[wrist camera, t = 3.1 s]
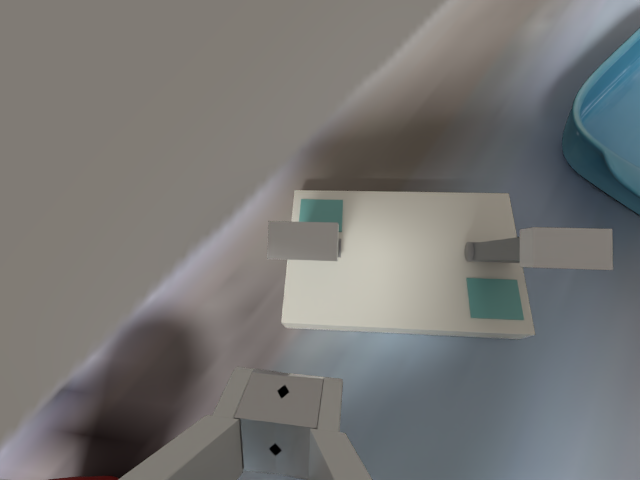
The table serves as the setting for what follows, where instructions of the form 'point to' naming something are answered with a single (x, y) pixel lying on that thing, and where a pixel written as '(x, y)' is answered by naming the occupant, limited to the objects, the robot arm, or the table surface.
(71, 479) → the plastic cup
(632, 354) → the table surface
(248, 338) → the table surface
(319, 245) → the lever
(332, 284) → the switch panel
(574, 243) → the lever
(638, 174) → the casserole dish
